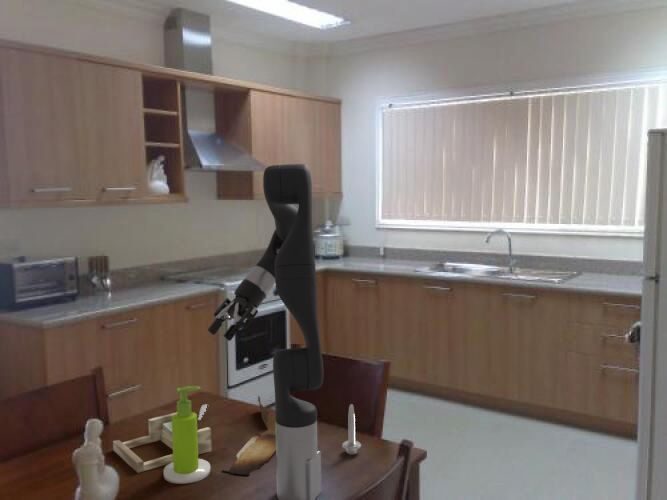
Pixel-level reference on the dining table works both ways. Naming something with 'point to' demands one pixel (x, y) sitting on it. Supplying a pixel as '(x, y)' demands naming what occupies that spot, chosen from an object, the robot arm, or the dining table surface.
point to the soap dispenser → (185, 434)
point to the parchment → (254, 454)
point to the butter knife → (202, 411)
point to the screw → (351, 434)
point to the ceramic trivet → (187, 478)
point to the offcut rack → (157, 431)
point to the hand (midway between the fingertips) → (218, 335)
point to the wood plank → (263, 413)
